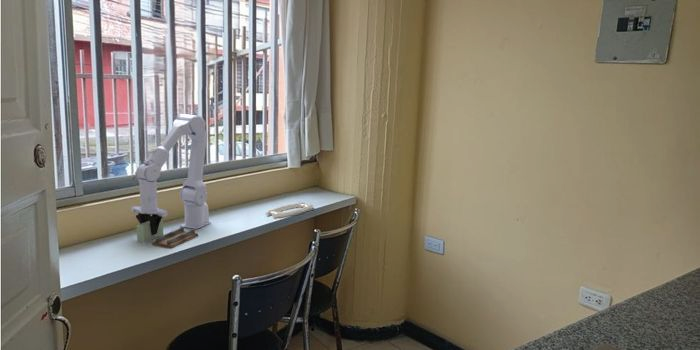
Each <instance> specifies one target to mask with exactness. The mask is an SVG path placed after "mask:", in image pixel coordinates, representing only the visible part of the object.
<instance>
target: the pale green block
mask: <svg viewBox="0 0 700 350" xmlns="http://www.w3.org/2000/svg"><path fill="white" fill-rule="evenodd" d="M162 235H164V221H163V218H162V219H161V221H160V224H159V227H158V231H157V234H155V235H152V234H151V226H150V222H149V221H147V222H144V223H141V224H140V223H138V224H137V225H136V241H137V242H139V241H140V242H139V243H146V242H148V241H150V240H153V239H154V240H155V238H158V237H160V236H162Z"/></svg>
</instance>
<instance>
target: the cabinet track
mask: <svg viewBox="0 0 700 350" xmlns="http://www.w3.org/2000/svg"><path fill="white" fill-rule="evenodd" d="M198 236H199V233H198V232H196V229H193V228H191V229H190V230H188V231H186V230H185V227H179V228H177V229H175V230H173V231H170V232H168V233H165V234H163V235H161V236H158V237H156V238H154V241H152V242H151V244H152V246H156V247H161V248H169V249H173V248H175V247H177V246H179V245H181V244H184V243H185V242H188V241H190V240H192V239H194V238H197V237H198Z"/></svg>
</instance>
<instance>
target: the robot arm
mask: <svg viewBox="0 0 700 350" xmlns="http://www.w3.org/2000/svg"><path fill="white" fill-rule="evenodd" d="M206 124H207V121H206V120H205V119H204V118H203V117H202V116H201V115H199V114H196V115H193V114H186V113H180V114H178V115H177V116H176V119H174V120H173V124H172V127H171V129H170V130H169V132H168V133H167V135H166V137H165V138H164V140H163V142H162V143H161V145H160V146H156V147H154V148H152V150H151V153H150V154H149V155H148V157H147V159H145V160H144V161H143V163H142V164H140V165H139V166H138V167H137V168H136V171H135V172H134V175H135V177H136V178H137V179H138V183H139V200H140V204H139V205H140V206H136V205H135V206H131V208H130V209H131V213H137V214H136V215H135V218H136V219H137V221H138V223H139V224H141V223H144V222H147V221H149V222H150V226H151V234H152V235H155V234H157V231H158V227H159V224H160V221H161V219H163V218H166V217H168V215H169V214H168V212H169V211H168V210H166V209H165V210H164V209H161V208H159V207H158V186H157V185H158V184H157V183H158V182H157V180H158V179H159V178H160V176H161V170H162V167H163V166H164V165H165V164H166V161H168V159H169V158H170V151H171V150H172V148H173V147H175V145H176V143H177V142H178V141H179V140H180V139H181V138H182V137H183V136H185V135H187V136H188V137H189V138H190V139H191V141H190V142H191V143H190V153H189V161H188V162H189V163H188V171H187V179H186V180H184V182H183V183H182V187H181V189H180V191H179V198H180V199H181V200H182V202H183V205H184V209H183V211H184V223H182V224H180V225H179V226H180V227H179V228H182V227H184V228H187V229H195V230H198V229H200V228H202V227H205V226H207V225H210V224H211V221H210V218H209V217H210V214H209V212H210V211H209V210H210V209H209V206H208V204H207V202H206V201H207V199H208V192H207V184H205V182H204V181H203V176H204V165H205V156H206V146H207V137H208V136H207V131H206Z"/></svg>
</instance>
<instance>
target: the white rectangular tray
mask: <svg viewBox="0 0 700 350" xmlns="http://www.w3.org/2000/svg"><path fill="white" fill-rule="evenodd" d="M296 207H297V208H299V209H295V208H296ZM313 208H314V205H313V204H311V203H310V204H306V203H305V202H302V201H300V202H296V203H290V204H286V205H281V206H279V207H278V206H277V207H276V208H273V209H272V208H271V209H268V211H266V212H265V215H266V216H268V217H269V216H272V217H273V218H274V219H280V218H285V217H290V216H295V215H298V214H302V213H305V212H308V211H311V210H312V209H313ZM286 209H287V210H289V211H286ZM291 209H293V210H291ZM310 209H311V210H310ZM307 210H308V211H307ZM283 211H285V212H283Z"/></svg>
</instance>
